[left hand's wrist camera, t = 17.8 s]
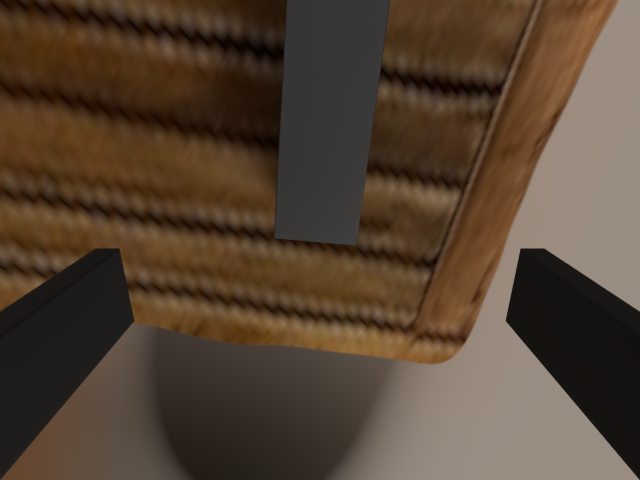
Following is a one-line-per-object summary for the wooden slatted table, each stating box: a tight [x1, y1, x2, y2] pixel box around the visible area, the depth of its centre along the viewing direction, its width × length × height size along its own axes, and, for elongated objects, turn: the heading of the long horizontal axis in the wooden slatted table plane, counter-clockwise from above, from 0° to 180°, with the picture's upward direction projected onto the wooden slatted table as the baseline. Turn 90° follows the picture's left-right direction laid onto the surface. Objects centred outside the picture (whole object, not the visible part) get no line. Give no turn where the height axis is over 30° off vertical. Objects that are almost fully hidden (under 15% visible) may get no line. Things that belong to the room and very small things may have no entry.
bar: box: [274, 0, 390, 245], centre depth 25 cm, size 27×6×9 cm, turn 175°
